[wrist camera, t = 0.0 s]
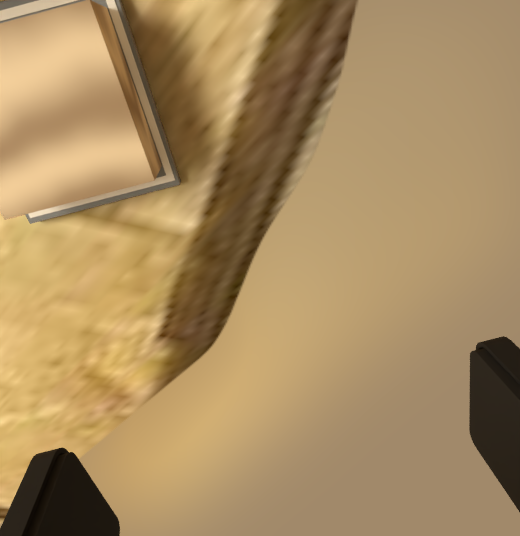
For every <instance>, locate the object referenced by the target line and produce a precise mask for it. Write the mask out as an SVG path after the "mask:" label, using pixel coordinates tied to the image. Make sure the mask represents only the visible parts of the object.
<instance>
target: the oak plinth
mask: <svg viewBox="0 0 520 536" xmlns="http://www.w3.org/2000/svg"><path fill="white" fill-rule="evenodd" d="M161 166H162V165H161V162H160V159H159V156H158V153H157V150H156V147H155V144H154V141H153V139H152V136H151V133H150V130H149V127H148V124H147V121H146V118H145V116H144V113H143V110H142V107H141V104H140V101H139V98H138V95H137V92H136V90H135V87H134V84H133V81H132V78H131V75H130V72H129V69H128V66H127V64H126V61H125V58H124V55H123V52H122V49H121V46H120V43H119V40H118V38H117V35H116V32H115V29H114V26H113V23H112V20H111V17H110V15H109V12H108V9H107V8H106V7H104V6H102V5H100V4H98V3H96V2H94V1H92V0H85V1H82V2H78V3H74V4H70V5H67V6H63V7H59V8H56V9H52V10H48V11H44V12H41V13H37V14H33V15H30V16H26V17H22V18H18V19H15V20H11V21H7V22H4V23H0V213H1V214H2V216H3V218H4V220H6V219H10V218H13V217H17V216H21V215H25V214H29V213H33V212H36V211H40V210H44V209H48V208H52V207H56V206H59V205H63V204H67V203H71V202H75V201H79V200H82V199H86V198H90V197H94V196H98V195H101V194H105V193H109V192H113V191H117V190H121V189H124V188H128V187H132V186H136V185H140V184H144V183H147V182H151V181H155V179H156V177H157V175H158V173H159V171H160V169H161Z"/></svg>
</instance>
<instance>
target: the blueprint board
mask: <svg viewBox="0 0 520 536" xmlns="http://www.w3.org/2000/svg"><path fill="white" fill-rule="evenodd" d="M82 1H85V0H6V1H2V2H0V23H4V22H7V21H11V20H15V19H18V18H22V17H26V16H30V15H33V14H37V13H41V12H44V11H48V10H52V9H56V8H59V7H63V6H67V5H70V4H74V3H78V2H82ZM92 1H94V2H96V3H98V4H100V5H102V6H104V7H106V8H107V9H108V12H109V15H110V17H111V20H112V23H113V26H114V29H115V32H116V35H117V38H118V40H119V43H120V46H121V49H122V52H123V55H124V58H125V61H126V64H127V66H128V69H129V72H130V75H131V78H132V81H133V84H134V87H135V90H136V92H137V95H138V98H139V101H140V104H141V107H142V110H143V113H144V116H145V118H146V121H147V124H148V127H149V130H150V133H151V136H152V139H153V141H154V144H155V147H156V150H157V153H158V156H159V159H160V162H161V165H162V166H161V169H160V171H159V173H158V175H157V177H156V179H155V181H151V182H147V183H144V184H140V185H136V186H132V187H128V188H124V189H121V190H117V191H113V192H109V193H105V194H101V195H98V196H94V197H90V198H86V199H82V200H79V201H75V202H71V203H67V204H63V205H59V206H56V207H52V208H48V209H44V210H40V211H36V212H33V213H29V214H25V215H26V217H27V219H28V221H29V223H30V224H31V223H35V222H39V221H42V220H46V219H50V218H54V217H58V216H62V215H65V214H69V213H73V212H77V211H81V210H85V209H88V208H92V207H96V206H100V205H104V204H108V203H111V202H115V201H119V200H123V199H127V198H130V197H134V196H138V195H142V194H146V193H150V192H153V191H157V190H161V189H165V188H169V187H173V186H176V185H180V183H181V180H180V177H179V174H178V171H177V168H176V165H175V162H174V159H173V156H172V153H171V150H170V147H169V144H168V141H167V138H166V135H165V132H164V129H163V126H162V123H161V120H160V117H159V114H158V111H157V108H156V105H155V102H154V99H153V96H152V93H151V90H150V87H149V84H148V81H147V77H146V74H145V71H144V68H143V65H142V62H141V59H140V56H139V53H138V50H137V47H136V44H135V41H134V38H133V35H132V32H131V29H130V26H129V23H128V20H127V17H126V14H125V11H124V8H123V5H122V2H121V0H92Z"/></svg>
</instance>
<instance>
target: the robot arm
mask: <svg viewBox="0 0 520 536" xmlns="http://www.w3.org/2000/svg"><path fill="white" fill-rule="evenodd" d="M470 435H471V438H472V440H473V443H474V445H475V446H476V448H477V450H478V451H479V452H480V454H481V456H482V457H483V458H484V460H485V461H486V463H487V464H488V466H489V467H490V469H491V470H492V472H493V473H494V475H495V476H496V478H497V479H498V481H499V482H500V483H501V485H502V486H503V488H504V489H505V491H506V492H507V494H508V495H509V497H510V498H511V500H512V501H513V503H514V504H515V506H516V507H517V509H518V510H519V512H520V349H519V348H518V347H517V346H516V345H515V344H514V343H513V342H512V341H511V340H510V339H508V338H507V337H499V338H495V339H491V340H488V341H484V342H480V343H478V344H477V345H476V350H475V351H472V352H471V353H470ZM119 534H120V526H119V521H118V518H117V517H116V515H115V514H114V512H113V511H112V509H111V508H110V506H109V505H108V503H107V502H106V500H105V499H104V497H103V496H102V494H101V493H100V491H99V490H98V488H97V486H96V485H95V483H94V482H93V481H92V479H91V477H90V476H89V474H88V473H87V471H86V470H85V468H84V467H83V465H82V464H81V462H80V461H79V459H78V458H77V456H76V455H75V454H74V453H73V452H70V453H69V452H68V451H67V450H66V449H64V448H59V449H55V450H51V451H47V452H43V453H39V454H36V455H35V456H34V457H33V459H32V460H31V462H30V464H29V466H28V469H27V471H26V473H25V475H24V477H23V480H22V482H21V484H20V486H19V489H18V491H17V493H16V495H15V497H14V500H13V502H12V504H11V506H10V508H9V511H8V513H7V515H6V517H5V519H4V522H3V524H2V526H1V528H0V536H119Z"/></svg>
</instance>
